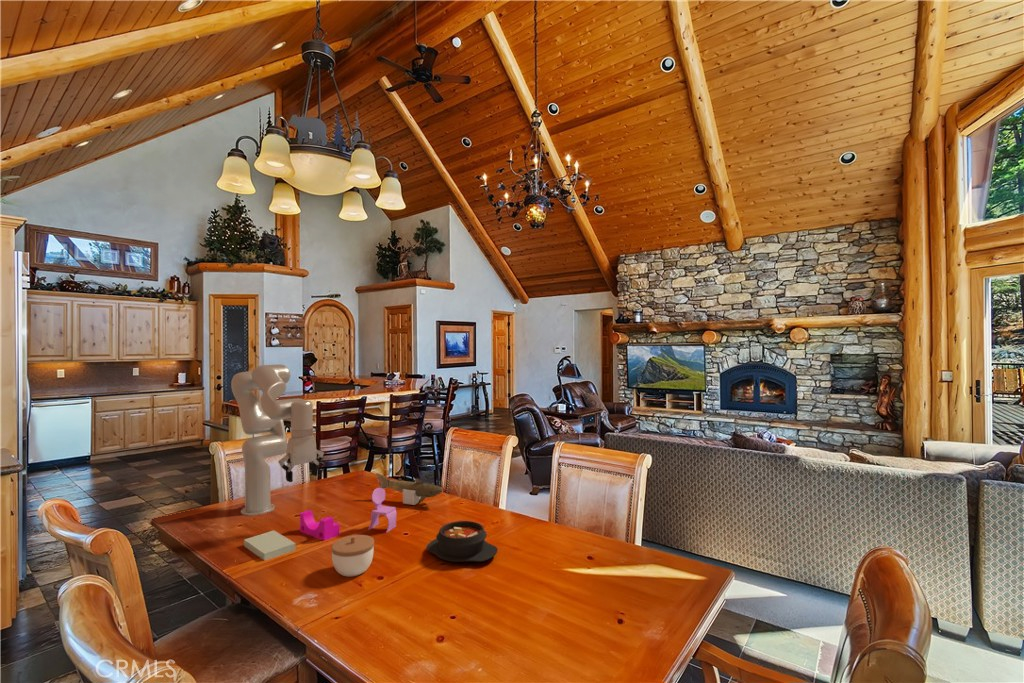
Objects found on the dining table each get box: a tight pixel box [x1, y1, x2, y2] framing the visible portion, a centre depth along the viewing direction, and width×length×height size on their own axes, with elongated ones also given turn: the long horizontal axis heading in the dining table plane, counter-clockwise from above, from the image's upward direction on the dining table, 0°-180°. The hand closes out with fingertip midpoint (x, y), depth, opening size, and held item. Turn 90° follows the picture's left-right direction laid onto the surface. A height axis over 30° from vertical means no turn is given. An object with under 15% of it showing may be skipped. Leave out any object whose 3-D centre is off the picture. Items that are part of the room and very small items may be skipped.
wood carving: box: [375, 472, 444, 506], centre depth 204 cm, size 9×35×11 cm, turn 68°
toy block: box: [299, 509, 340, 541], centre depth 170 cm, size 15×6×8 cm, turn 57°
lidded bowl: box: [330, 534, 375, 578], centre depth 141 cm, size 13×13×11 cm
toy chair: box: [367, 487, 397, 533], centre depth 175 cm, size 8×9×15 cm
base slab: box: [243, 529, 296, 561], centre depth 157 cm, size 17×10×4 cm, turn 50°
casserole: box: [426, 520, 499, 563], centre depth 153 cm, size 25×19×8 cm
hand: (302, 478), depth 173 cm, fingers open, 9 cm apart
